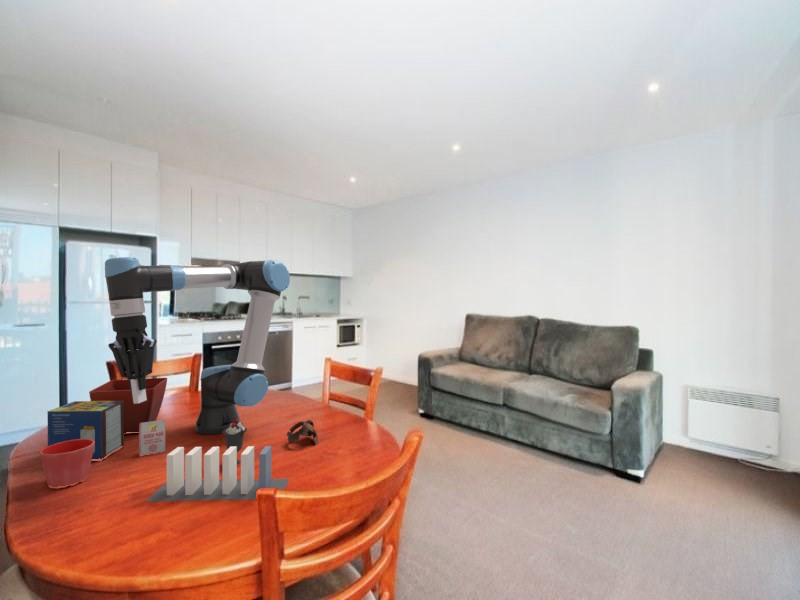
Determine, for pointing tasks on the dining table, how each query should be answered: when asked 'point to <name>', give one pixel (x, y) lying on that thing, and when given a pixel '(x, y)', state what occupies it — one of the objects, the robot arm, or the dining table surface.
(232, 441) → the sundae
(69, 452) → the flower pot
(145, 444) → the tea bag
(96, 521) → the dining table surface
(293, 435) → the brown ring with handle
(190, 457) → the domino
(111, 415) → the protein box
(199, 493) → the runner mat
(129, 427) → the plant pot
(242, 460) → the domino
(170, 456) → the domino
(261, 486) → the domino
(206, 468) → the domino
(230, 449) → the domino
